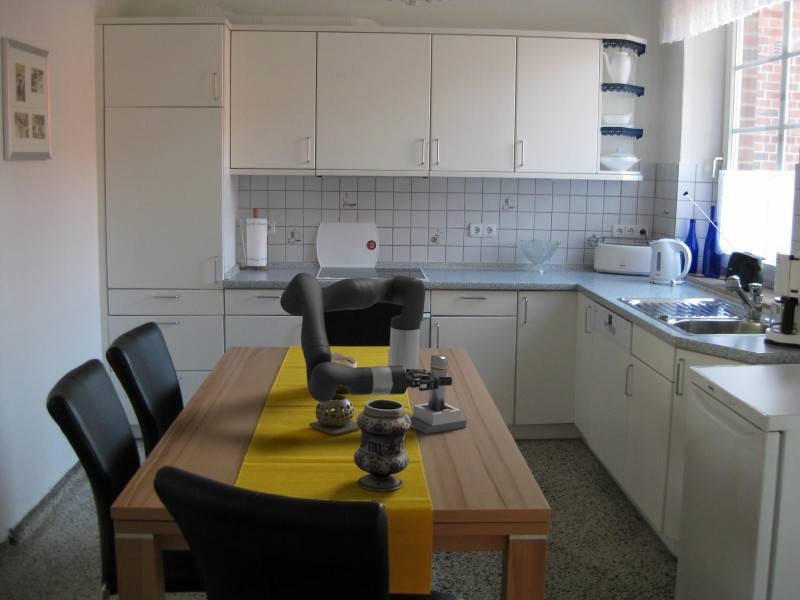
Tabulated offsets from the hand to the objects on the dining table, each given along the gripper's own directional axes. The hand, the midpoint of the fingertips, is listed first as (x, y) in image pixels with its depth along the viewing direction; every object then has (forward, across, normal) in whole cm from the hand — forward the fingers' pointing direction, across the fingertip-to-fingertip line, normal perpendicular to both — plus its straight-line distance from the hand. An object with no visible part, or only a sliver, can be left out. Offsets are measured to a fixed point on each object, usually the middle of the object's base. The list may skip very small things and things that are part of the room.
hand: (447, 378), depth 233 cm
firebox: (-3, -1, -13) cm, 13 cm away
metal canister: (-3, 0, -8) cm, 8 cm away
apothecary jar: (-29, +36, -14) cm, 48 cm away
